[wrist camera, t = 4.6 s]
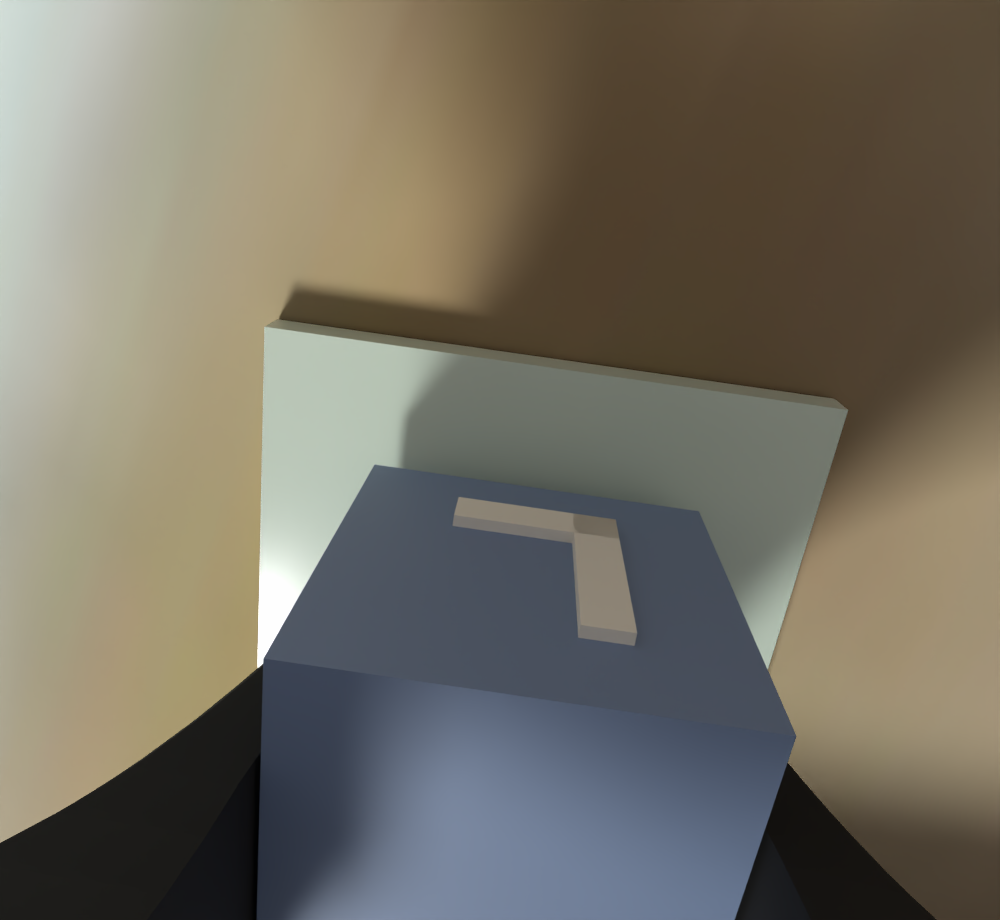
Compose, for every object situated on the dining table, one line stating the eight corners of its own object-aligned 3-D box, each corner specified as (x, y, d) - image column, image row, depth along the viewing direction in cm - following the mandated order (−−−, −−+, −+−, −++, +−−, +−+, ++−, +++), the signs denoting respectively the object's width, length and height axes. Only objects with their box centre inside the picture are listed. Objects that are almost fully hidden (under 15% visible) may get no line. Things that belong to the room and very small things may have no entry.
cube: (635, 767, 14) (680, 1080, 9) (353, 726, 14) (253, 1017, 9) (701, 502, 12) (801, 722, 7) (375, 454, 12) (264, 644, 7)
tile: (706, 822, 16) (712, 847, 15) (265, 758, 16) (255, 780, 15) (834, 398, 12) (847, 410, 12) (277, 319, 12) (264, 326, 12)
